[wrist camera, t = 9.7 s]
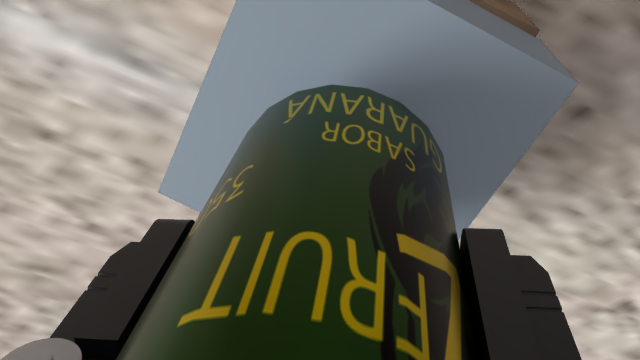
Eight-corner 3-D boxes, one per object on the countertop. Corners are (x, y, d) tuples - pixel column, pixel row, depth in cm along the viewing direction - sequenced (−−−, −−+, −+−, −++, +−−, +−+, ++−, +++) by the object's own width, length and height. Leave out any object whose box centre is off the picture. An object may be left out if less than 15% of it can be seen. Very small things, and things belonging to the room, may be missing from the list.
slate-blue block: (540, 40, 19) (578, 82, 15) (403, 236, 23) (404, 309, 19) (298, -94, 18) (271, -86, 14) (200, 136, 22) (157, 192, 18)
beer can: (410, 276, 17) (435, 976, 6) (228, 229, 17) (-65, 852, 6) (476, 105, 14) (722, 804, 3) (261, 50, 14) (-148, 584, 3)
